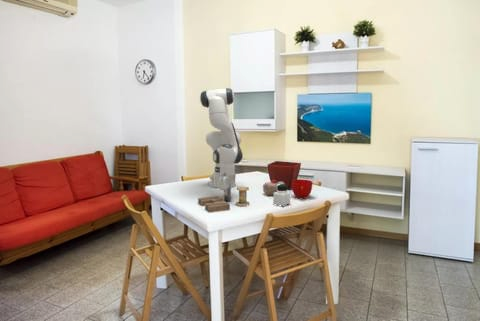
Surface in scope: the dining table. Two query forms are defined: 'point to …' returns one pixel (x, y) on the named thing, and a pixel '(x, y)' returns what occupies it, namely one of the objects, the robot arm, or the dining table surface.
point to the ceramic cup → (301, 188)
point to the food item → (271, 187)
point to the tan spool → (242, 196)
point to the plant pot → (284, 172)
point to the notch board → (214, 204)
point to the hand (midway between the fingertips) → (227, 194)
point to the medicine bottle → (281, 195)
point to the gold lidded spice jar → (228, 197)
